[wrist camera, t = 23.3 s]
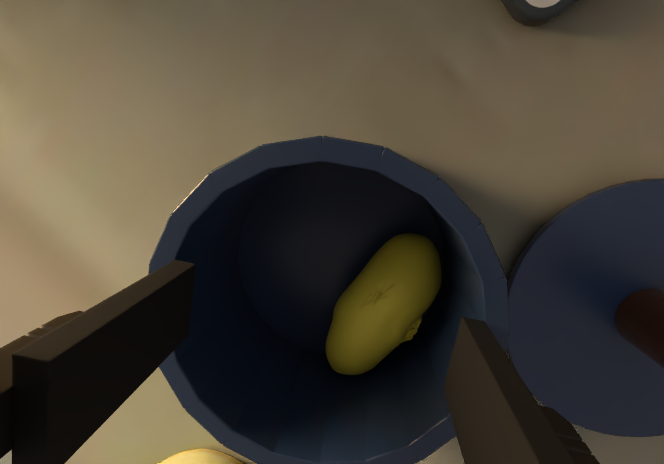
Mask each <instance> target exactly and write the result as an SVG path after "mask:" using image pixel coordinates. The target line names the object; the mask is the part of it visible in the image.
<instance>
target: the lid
mask: <svg viewBox="0 0 664 464" xmlns="http://www.w3.org/2000/svg"><path fill="white" fill-rule="evenodd" d="M507 291H508V307H509V322H510V337H509V341H508V344H507V348H506V350H507V352H508V355H509V357H510V360H511V363H512V365H513V366H514V368H515V369H516V371H517V372H518V374H519V375H520V377H521V378H522V380H523V382H524V383H525V385H526V386H527V388H528V389H529V390H530V392H531V393H532V394H533V395H534V396H535V397H536V398H537V399H538V400H539V401H540V402H541V403H542V404H543V405H544V406H546V407H549V408H553V409H554V410H556V411H557V412H558V413H559V414H560V415H562V416H563V417H564V418H565V419H566V420H568V421H569V422H571V423H573V424H576V425H578V426H581V427H583V428H586V429H589V430H592V431H596V432H600V433H604V434H610V435H616V436H626V437H648V436H660V435H664V179H643V180H636V181H629V182H625V183H621V184H617V185H613V186H609V187H606V188H604V189H601V190H599V191H596V192H594V193H591V194H589V195H587V196H585V197H583V198H581V199H579V200H577V201H576V202H574V203H572V204H570V205H569V206H568V207H566V208H565V209H563V210H562V211H560V212H559V213H557V214H556V215H555V216H554V217H553V218H551V219H550V220H549V221H548V222H547V223H546V224H545V225H544V226H542V227H541V228H540V230H539V231H538V232H537V233H536V234H535V235H534V236H533V237H532V239H531V240H530V241H529V242H528V244H527V245H526V247H525V248H524V250H523V251H522V252H521V254H520V255H519V257H518V259H517V261H516V263H515V265H514V267H513V269H512V271H511V274H510V276H509V279H508V282H507Z"/></svg>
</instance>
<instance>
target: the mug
mask: <svg viewBox="0 0 664 464" xmlns="http://www.w3.org/2000/svg"><path fill="white" fill-rule="evenodd" d="M157 464H244V463H243V462H240V461H238V460H237V459H235V458H234V457H232V456H229V455H226V454H224V453H222V452H219V451H215V450H210V449H195V450H188V451H184V452H180V453H178V454H175V455H173V456H171V457H169V458H167V459H166V460H164V461H162V462H160V463H157Z"/></svg>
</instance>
